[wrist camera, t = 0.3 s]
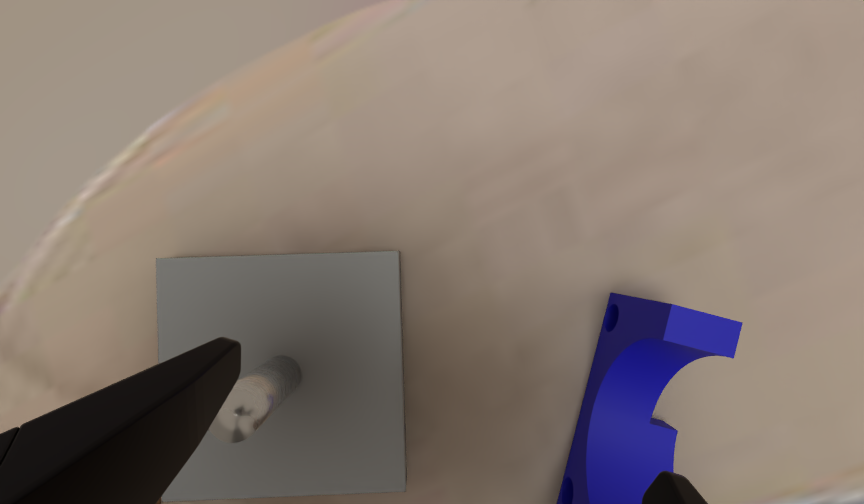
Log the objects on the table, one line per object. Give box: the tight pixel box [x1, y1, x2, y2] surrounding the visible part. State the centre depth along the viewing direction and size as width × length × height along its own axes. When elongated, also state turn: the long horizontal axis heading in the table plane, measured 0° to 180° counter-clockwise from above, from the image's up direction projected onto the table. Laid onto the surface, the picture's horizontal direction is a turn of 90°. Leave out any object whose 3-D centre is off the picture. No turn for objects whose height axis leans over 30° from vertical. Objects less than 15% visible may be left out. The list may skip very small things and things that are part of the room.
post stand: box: [156, 251, 407, 502], centre depth 20 cm, size 12×12×7 cm
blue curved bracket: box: [557, 293, 742, 504], centre depth 21 cm, size 12×4×6 cm, turn 165°
